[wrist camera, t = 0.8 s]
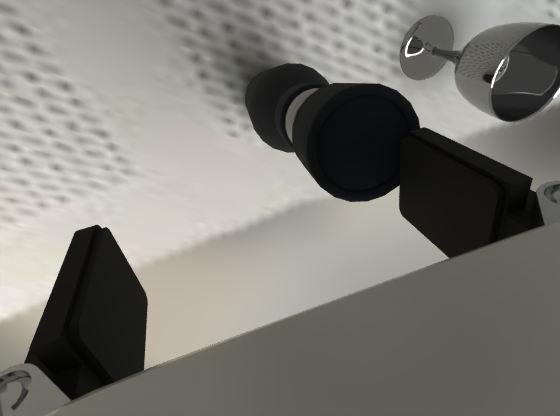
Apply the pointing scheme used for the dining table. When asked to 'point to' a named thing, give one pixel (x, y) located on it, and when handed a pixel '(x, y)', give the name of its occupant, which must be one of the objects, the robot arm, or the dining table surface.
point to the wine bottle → (333, 128)
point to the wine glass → (491, 64)
